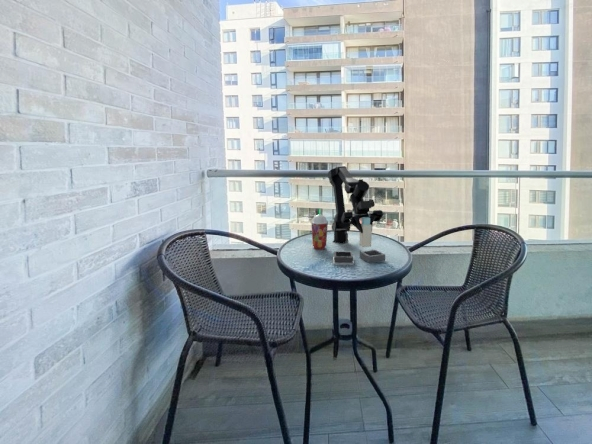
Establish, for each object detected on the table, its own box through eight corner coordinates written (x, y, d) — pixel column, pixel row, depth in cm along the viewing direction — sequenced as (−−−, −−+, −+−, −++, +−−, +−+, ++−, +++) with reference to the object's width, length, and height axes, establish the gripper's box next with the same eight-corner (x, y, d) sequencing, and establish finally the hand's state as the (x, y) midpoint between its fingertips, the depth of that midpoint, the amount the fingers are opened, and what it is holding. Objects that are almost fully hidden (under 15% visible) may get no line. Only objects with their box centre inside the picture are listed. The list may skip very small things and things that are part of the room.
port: (333, 258, 190) (333, 251, 189) (352, 258, 189) (352, 251, 188) (333, 264, 181) (333, 257, 180) (353, 265, 180) (354, 257, 180)
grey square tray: (359, 257, 191) (359, 251, 190) (375, 255, 193) (375, 249, 193) (368, 263, 183) (369, 256, 182) (385, 260, 186) (385, 254, 185)
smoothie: (329, 246, 210) (329, 208, 205) (325, 250, 202) (325, 211, 198) (313, 245, 212) (313, 207, 208) (309, 249, 205) (309, 210, 200)
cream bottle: (359, 244, 187) (360, 217, 184) (367, 244, 188) (368, 216, 185) (362, 247, 183) (363, 218, 180) (371, 246, 184) (372, 218, 181)
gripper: (343, 194, 182) (351, 223, 174) (382, 192, 186) (392, 221, 178) (337, 208, 191) (345, 237, 183) (374, 206, 195) (383, 234, 187)
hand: (366, 232), depth 182 cm, fingers closed on cream bottle, 4 cm apart
